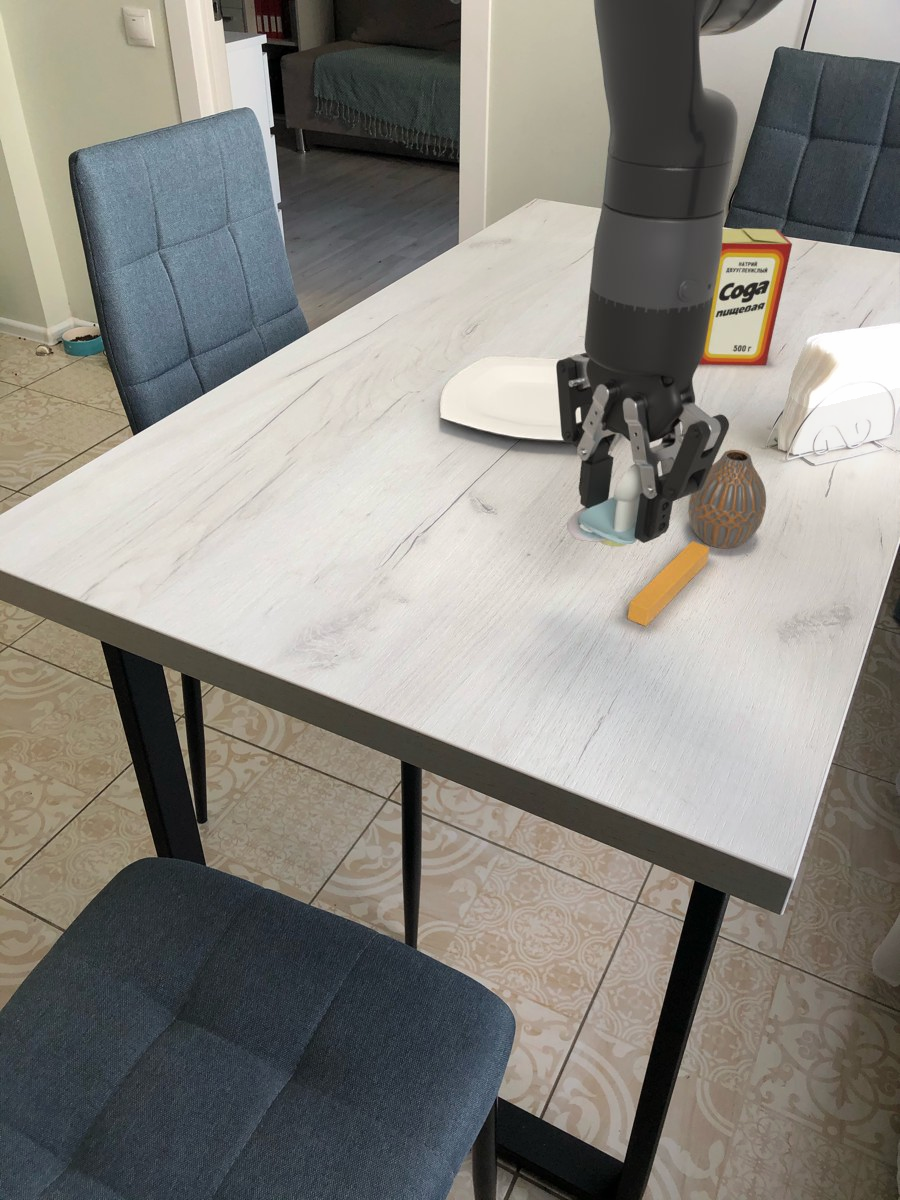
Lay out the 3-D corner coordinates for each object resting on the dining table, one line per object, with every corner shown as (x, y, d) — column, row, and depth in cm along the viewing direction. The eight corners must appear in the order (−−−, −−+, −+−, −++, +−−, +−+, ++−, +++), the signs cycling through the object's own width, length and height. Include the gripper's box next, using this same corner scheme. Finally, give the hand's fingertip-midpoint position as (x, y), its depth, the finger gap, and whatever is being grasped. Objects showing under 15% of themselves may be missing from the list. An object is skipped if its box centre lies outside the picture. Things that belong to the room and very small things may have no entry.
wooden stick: (688, 556, 87) (691, 540, 86) (706, 563, 86) (710, 547, 85) (626, 618, 79) (629, 601, 78) (645, 626, 79) (648, 609, 78)
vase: (763, 528, 91) (782, 447, 86) (749, 564, 86) (769, 480, 81) (692, 512, 94) (707, 432, 89) (675, 546, 89) (690, 463, 83)
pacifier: (547, 534, 68) (611, 568, 65) (552, 457, 65) (621, 488, 61) (612, 500, 72) (675, 530, 69) (620, 426, 69) (687, 453, 65)
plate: (619, 467, 101) (621, 450, 100) (416, 437, 107) (416, 421, 105) (647, 384, 119) (649, 369, 118) (472, 362, 124) (472, 348, 123)
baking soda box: (694, 364, 125) (715, 239, 115) (684, 346, 130) (704, 225, 120) (765, 365, 125) (792, 240, 115) (753, 346, 130) (778, 226, 120)
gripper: (787, 303, 54) (732, 549, 65) (615, 244, 64) (591, 467, 74) (698, 329, 51) (654, 585, 61) (530, 263, 60) (516, 494, 70)
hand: (620, 519), depth 67 cm, fingers closed on pacifier, 5 cm apart
